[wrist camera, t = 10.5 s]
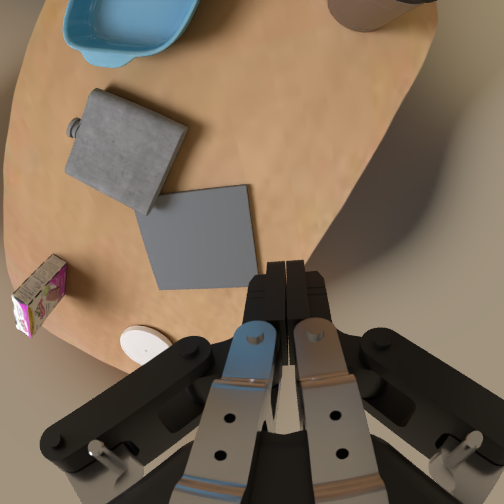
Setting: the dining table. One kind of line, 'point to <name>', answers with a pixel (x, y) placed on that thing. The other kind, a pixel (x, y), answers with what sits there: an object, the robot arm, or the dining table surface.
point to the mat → (200, 239)
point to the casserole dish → (125, 28)
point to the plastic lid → (143, 343)
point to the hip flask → (123, 149)
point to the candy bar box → (39, 295)
